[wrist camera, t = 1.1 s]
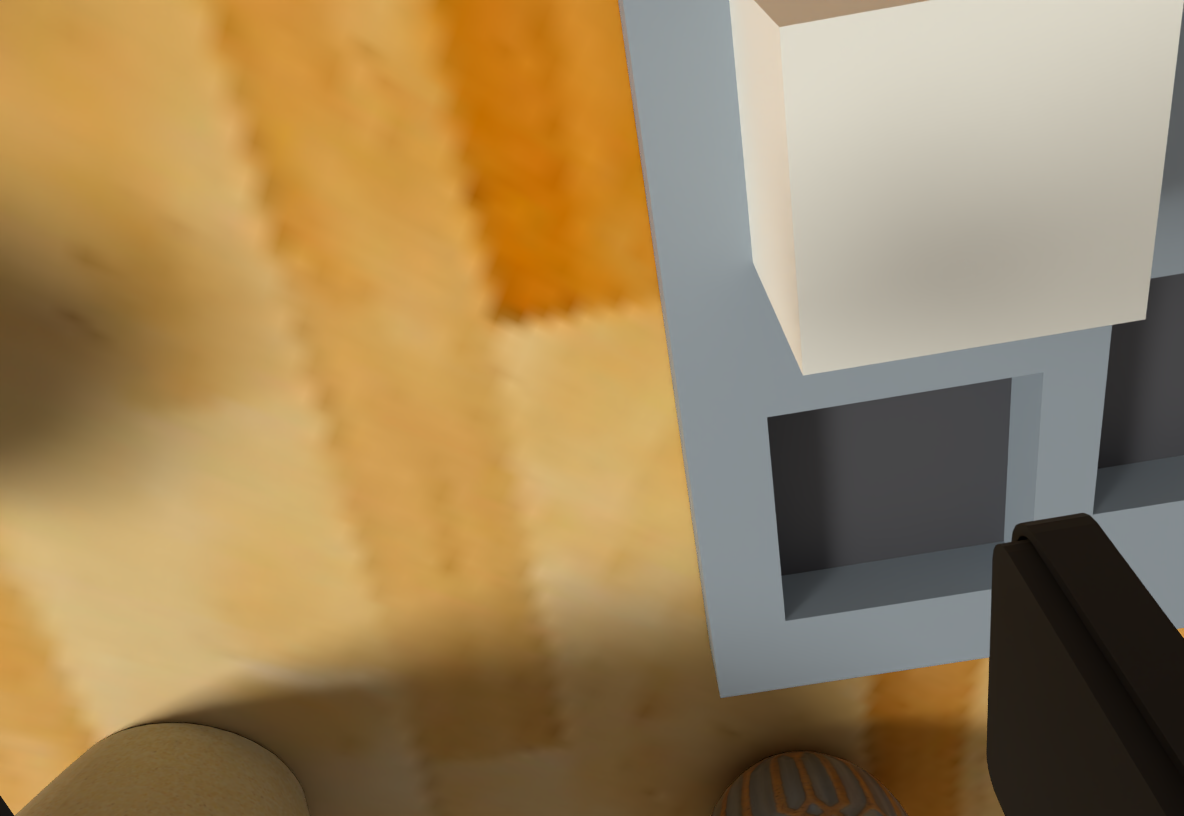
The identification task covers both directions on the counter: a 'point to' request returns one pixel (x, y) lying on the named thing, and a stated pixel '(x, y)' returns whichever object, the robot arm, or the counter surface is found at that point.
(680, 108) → the board
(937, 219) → the cream block
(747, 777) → the vase
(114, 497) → the counter surface
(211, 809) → the plant pot
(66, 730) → the counter surface
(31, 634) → the counter surface
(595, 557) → the counter surface
